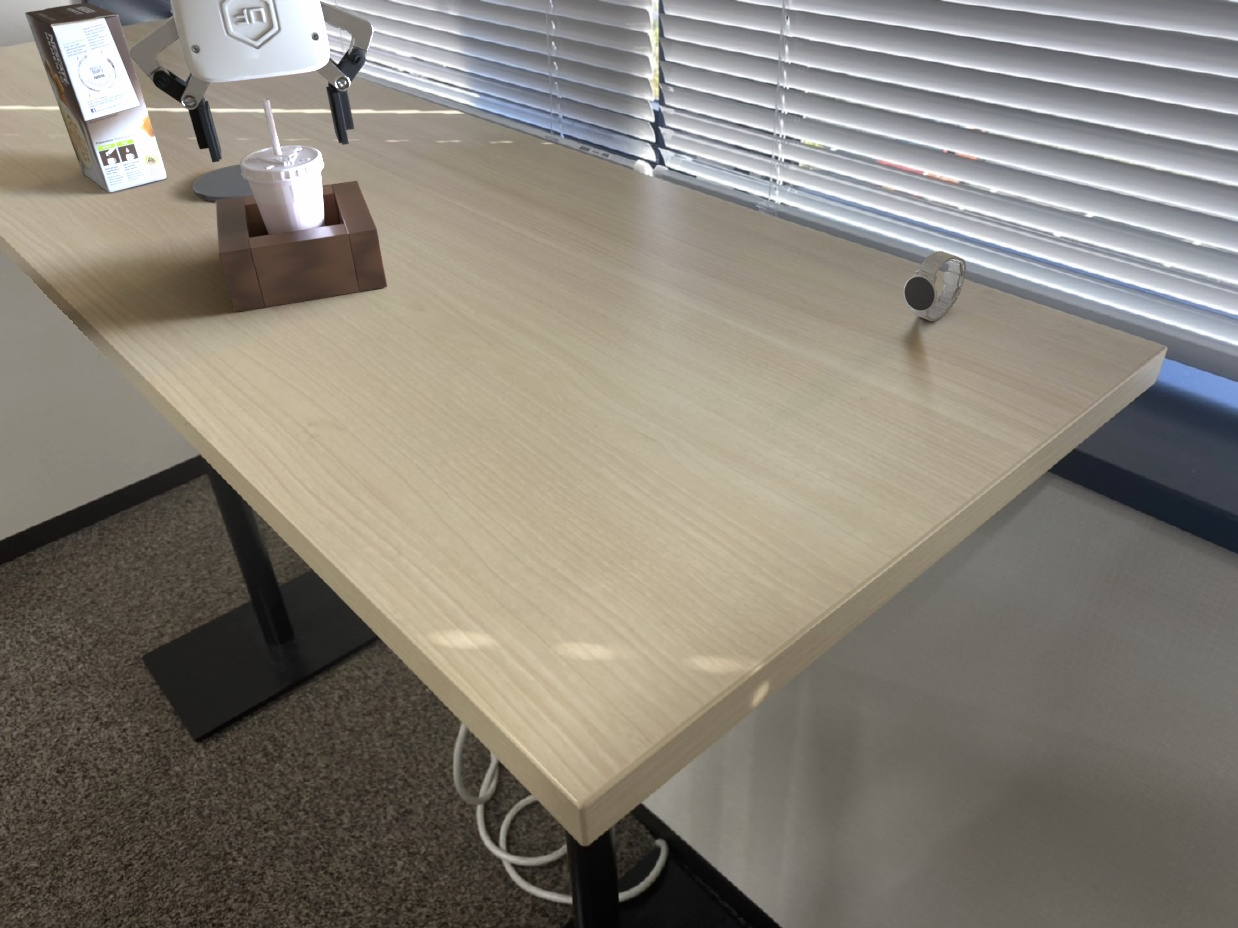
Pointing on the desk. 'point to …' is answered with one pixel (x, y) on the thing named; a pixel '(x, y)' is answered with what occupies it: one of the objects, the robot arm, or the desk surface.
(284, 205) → the smoothie
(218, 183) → the coaster
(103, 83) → the coffee box
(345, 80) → the robot arm
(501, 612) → the desk surface
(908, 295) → the wristwatch
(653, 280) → the desk surface
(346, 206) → the stand
